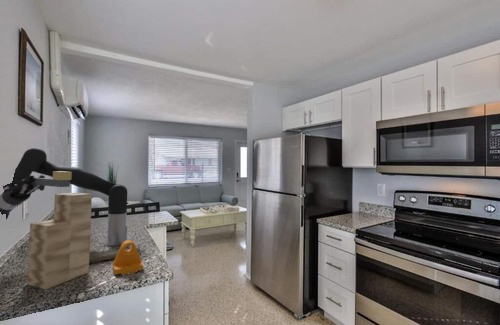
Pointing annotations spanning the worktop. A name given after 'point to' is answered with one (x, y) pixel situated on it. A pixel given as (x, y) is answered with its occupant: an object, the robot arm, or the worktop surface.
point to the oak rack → (61, 242)
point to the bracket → (127, 259)
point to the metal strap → (55, 179)
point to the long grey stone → (104, 255)
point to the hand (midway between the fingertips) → (38, 177)
